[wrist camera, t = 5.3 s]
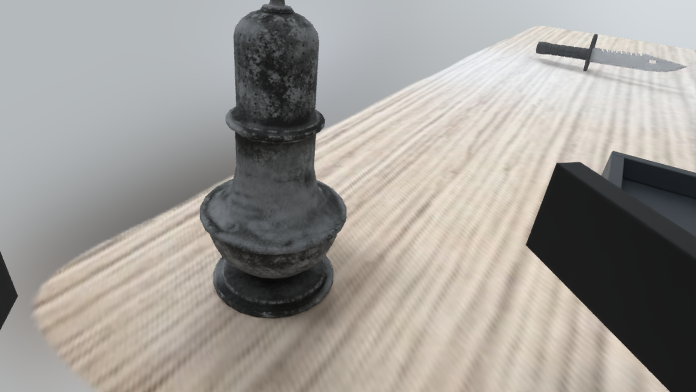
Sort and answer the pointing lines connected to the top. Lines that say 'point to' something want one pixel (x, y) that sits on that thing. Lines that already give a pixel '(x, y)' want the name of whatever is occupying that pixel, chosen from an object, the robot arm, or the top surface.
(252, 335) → the top surface
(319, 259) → the salt shaker
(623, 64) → the knife
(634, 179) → the serving tray
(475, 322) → the top surface
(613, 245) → the robot arm
